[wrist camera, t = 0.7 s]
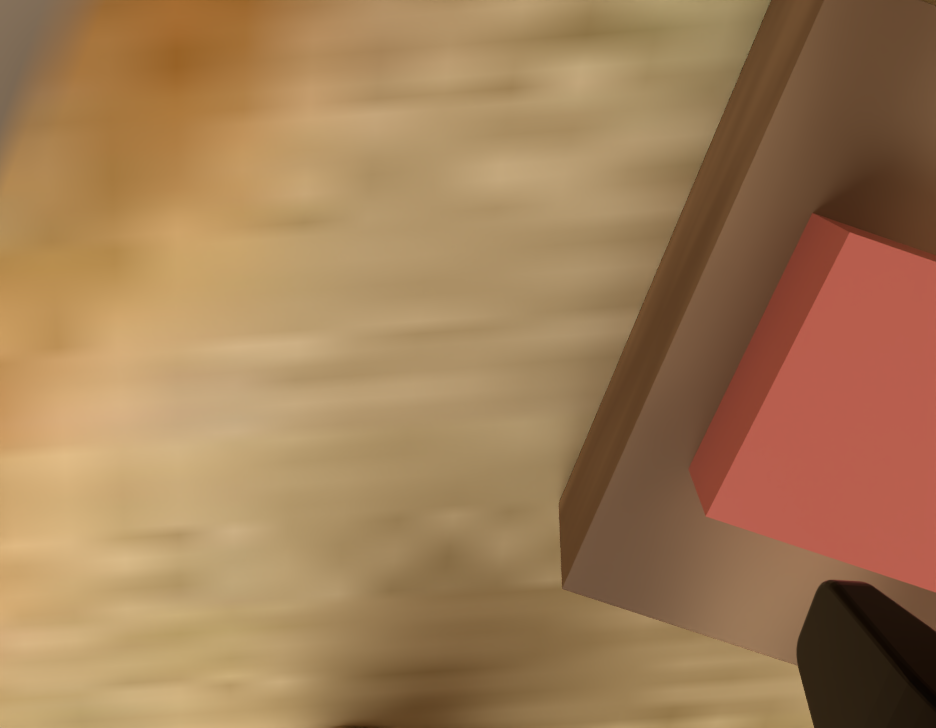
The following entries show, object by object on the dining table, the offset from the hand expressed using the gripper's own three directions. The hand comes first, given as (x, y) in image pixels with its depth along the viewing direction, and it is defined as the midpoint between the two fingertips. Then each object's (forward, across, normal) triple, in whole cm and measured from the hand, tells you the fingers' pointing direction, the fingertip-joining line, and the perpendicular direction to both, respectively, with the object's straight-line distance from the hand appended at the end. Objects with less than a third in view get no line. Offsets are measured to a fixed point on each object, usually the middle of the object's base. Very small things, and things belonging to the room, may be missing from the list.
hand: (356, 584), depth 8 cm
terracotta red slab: (+8, -12, +2) cm, 14 cm away
